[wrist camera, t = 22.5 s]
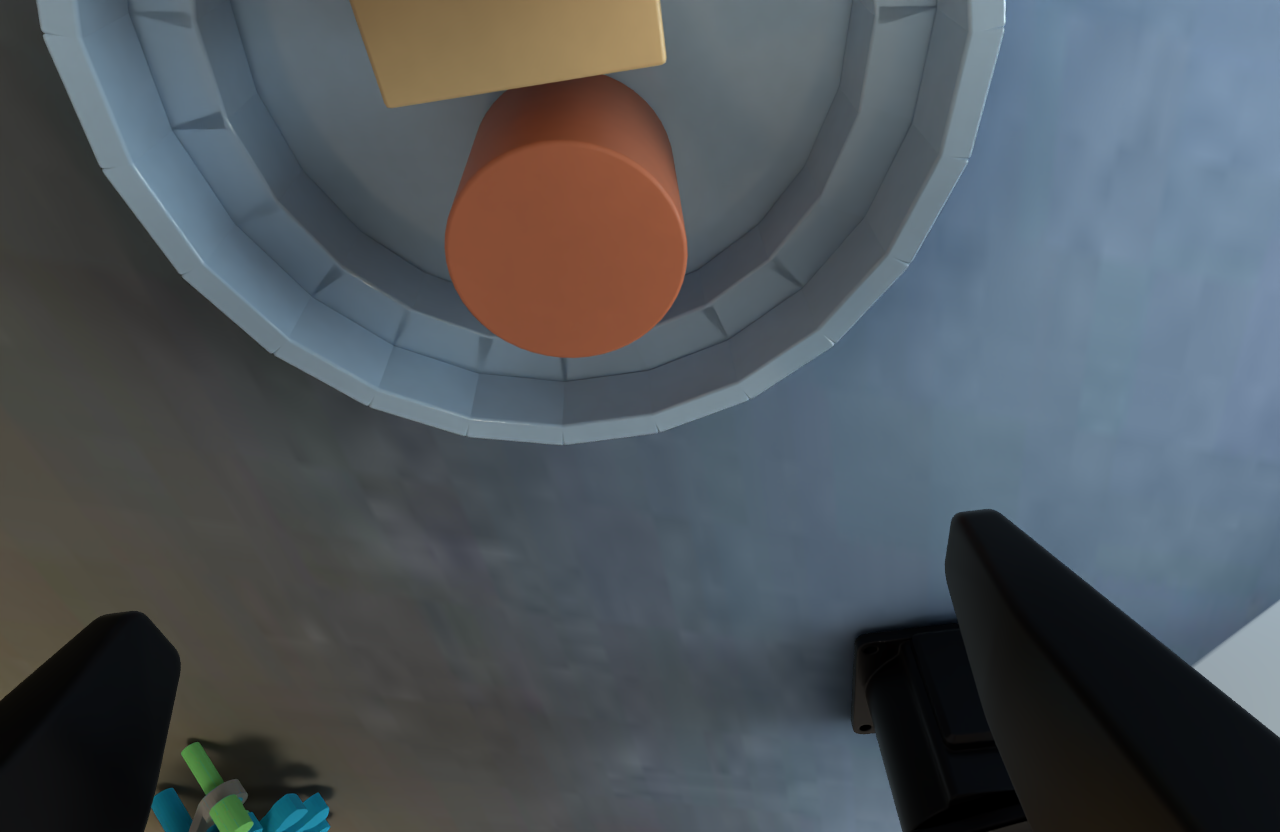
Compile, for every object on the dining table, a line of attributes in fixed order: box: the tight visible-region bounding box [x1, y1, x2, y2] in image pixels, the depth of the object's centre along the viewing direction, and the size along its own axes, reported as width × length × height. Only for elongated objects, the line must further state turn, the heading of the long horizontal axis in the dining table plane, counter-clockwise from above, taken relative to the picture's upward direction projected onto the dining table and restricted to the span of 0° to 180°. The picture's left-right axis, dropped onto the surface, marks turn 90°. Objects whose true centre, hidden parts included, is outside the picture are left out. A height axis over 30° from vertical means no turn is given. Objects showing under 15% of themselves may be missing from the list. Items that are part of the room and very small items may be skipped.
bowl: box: [36, 0, 1006, 445], centre depth 15 cm, size 15×15×4 cm
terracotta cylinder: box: [444, 75, 688, 358], centre depth 16 cm, size 4×4×4 cm
